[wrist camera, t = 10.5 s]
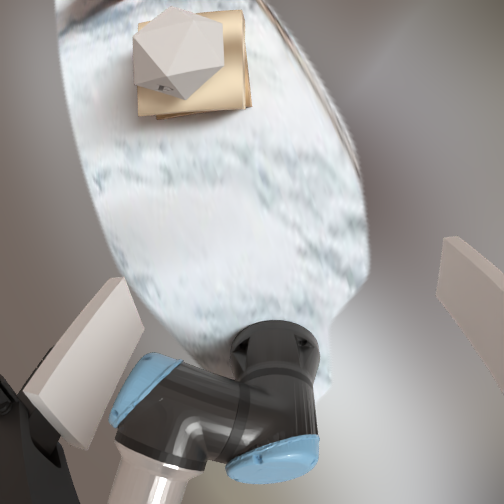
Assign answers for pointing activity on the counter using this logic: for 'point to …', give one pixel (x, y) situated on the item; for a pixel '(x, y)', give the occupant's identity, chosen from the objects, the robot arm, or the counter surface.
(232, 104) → the tower top slab
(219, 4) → the counter surface
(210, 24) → the die
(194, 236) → the counter surface
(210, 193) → the counter surface
